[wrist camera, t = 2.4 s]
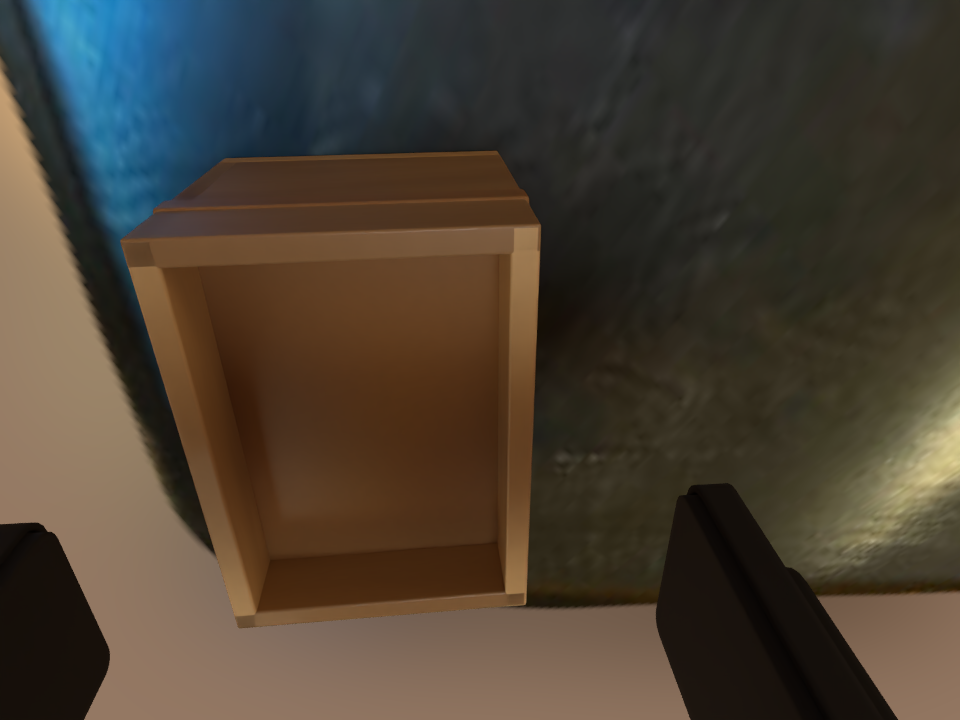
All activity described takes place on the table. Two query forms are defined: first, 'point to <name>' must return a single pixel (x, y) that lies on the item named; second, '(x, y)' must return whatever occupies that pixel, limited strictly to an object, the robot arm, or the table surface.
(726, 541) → the robot arm
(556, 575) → the table surface
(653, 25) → the table surface
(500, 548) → the open wooden box
